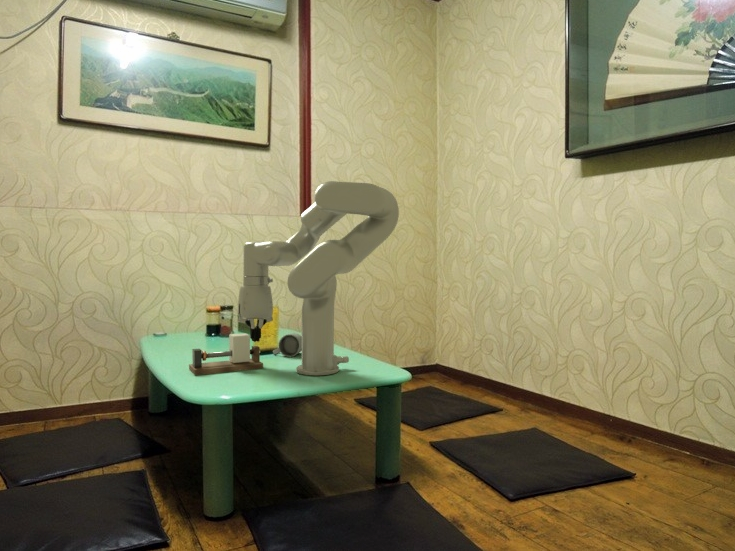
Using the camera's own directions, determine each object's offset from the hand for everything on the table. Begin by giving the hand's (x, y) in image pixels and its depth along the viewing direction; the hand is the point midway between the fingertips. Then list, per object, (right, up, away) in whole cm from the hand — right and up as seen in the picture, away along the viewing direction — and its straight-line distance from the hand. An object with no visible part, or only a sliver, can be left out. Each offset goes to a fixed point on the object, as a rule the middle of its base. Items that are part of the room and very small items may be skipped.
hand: (255, 340), depth 157 cm
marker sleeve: (-4, -6, -2) cm, 8 cm away
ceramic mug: (+7, -8, +18) cm, 21 cm away
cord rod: (-8, -6, -5) cm, 11 cm away
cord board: (-8, -8, -4) cm, 12 cm away
